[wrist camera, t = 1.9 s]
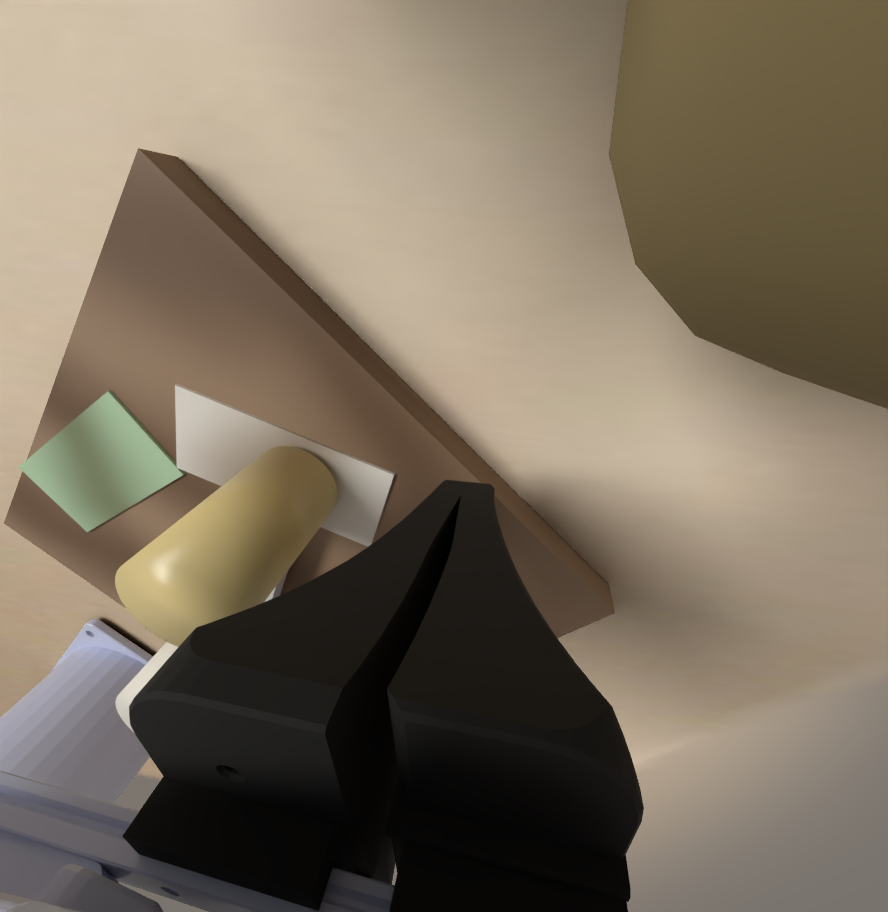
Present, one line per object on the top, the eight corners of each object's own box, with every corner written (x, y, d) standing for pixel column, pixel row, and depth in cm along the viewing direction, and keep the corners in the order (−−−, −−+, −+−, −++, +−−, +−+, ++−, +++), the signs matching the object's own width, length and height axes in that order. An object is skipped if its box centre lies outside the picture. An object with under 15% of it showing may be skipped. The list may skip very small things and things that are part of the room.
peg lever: (292, 687, 19) (219, 821, 15) (194, 641, 19) (91, 762, 14) (381, 488, 12) (296, 624, 8) (231, 414, 12) (61, 512, 8)
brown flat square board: (327, 718, 23) (316, 743, 21) (30, 505, 19) (-2, 522, 18) (609, 585, 14) (614, 615, 13) (174, 153, 10) (130, 143, 9)
